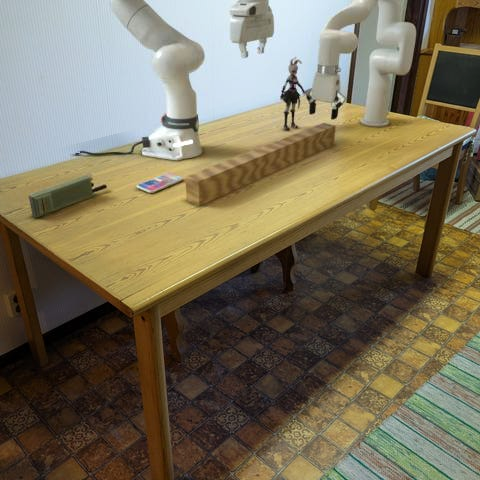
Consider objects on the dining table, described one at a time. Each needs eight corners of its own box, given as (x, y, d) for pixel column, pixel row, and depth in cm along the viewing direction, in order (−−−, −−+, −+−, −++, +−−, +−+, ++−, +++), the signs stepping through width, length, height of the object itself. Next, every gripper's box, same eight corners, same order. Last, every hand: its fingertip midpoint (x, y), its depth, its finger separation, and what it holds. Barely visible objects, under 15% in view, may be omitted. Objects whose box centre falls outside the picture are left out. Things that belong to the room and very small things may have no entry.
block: (199, 206, 151) (198, 181, 147) (186, 200, 154) (185, 176, 150) (333, 145, 201) (335, 125, 197) (321, 142, 204) (323, 122, 200)
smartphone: (184, 177, 167) (150, 191, 157) (184, 180, 167) (151, 194, 157) (168, 171, 171) (134, 185, 161) (168, 174, 171) (135, 188, 161)
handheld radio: (30, 215, 144) (102, 188, 161) (37, 219, 142) (109, 191, 159) (26, 193, 140) (100, 168, 157) (33, 197, 138) (107, 171, 155)
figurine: (282, 133, 213) (286, 58, 198) (272, 129, 216) (275, 56, 202) (305, 126, 221) (311, 54, 206) (295, 123, 225) (300, 52, 210)
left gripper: (262, 4, 162) (261, 50, 169) (226, 9, 147) (226, 58, 154) (280, 5, 159) (277, 52, 166) (244, 10, 144) (243, 61, 151)
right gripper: (353, 71, 182) (347, 118, 190) (313, 65, 191) (309, 110, 200) (342, 74, 177) (337, 122, 185) (302, 67, 186) (298, 113, 195)
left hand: (252, 55), depth 159 cm, fingers open, 8 cm apart
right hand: (322, 116), depth 192 cm, fingers open, 9 cm apart
